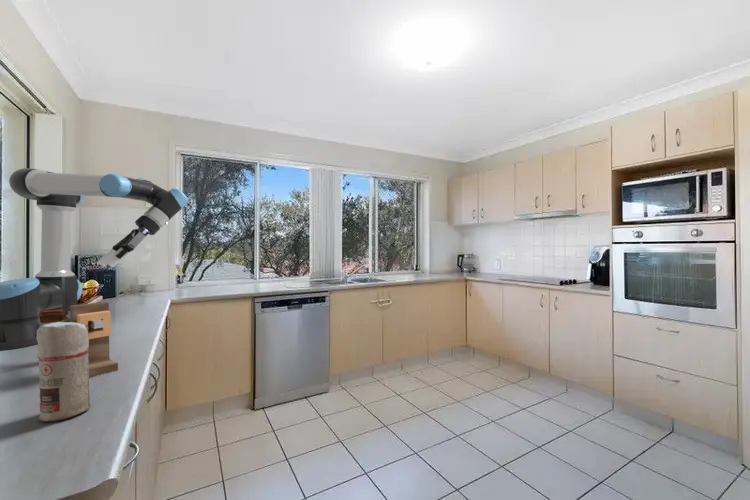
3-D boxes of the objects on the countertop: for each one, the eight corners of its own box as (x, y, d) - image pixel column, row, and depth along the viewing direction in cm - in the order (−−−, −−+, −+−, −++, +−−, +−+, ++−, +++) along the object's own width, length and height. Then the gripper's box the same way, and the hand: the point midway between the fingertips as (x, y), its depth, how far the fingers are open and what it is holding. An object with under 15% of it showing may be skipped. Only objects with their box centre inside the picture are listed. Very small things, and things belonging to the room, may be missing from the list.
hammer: (62, 316, 108) (61, 276, 108) (74, 315, 110) (74, 275, 110) (92, 329, 92) (91, 282, 92) (105, 326, 95) (104, 281, 94)
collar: (77, 339, 93) (76, 314, 93) (107, 333, 99) (107, 310, 99) (80, 340, 92) (79, 315, 92) (110, 335, 98) (110, 311, 98)
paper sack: (31, 417, 70) (29, 323, 70) (79, 401, 78) (78, 316, 77) (48, 428, 66) (46, 328, 66) (97, 409, 74) (96, 319, 73)
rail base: (51, 357, 107) (50, 298, 106) (83, 351, 113) (82, 295, 113) (82, 379, 90) (81, 309, 90) (117, 370, 97) (116, 305, 96)
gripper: (171, 226, 119) (123, 272, 108) (150, 230, 136) (107, 271, 125) (153, 210, 115) (101, 257, 104) (134, 217, 131) (87, 258, 121)
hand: (104, 265), depth 114 cm, fingers open, 13 cm apart
